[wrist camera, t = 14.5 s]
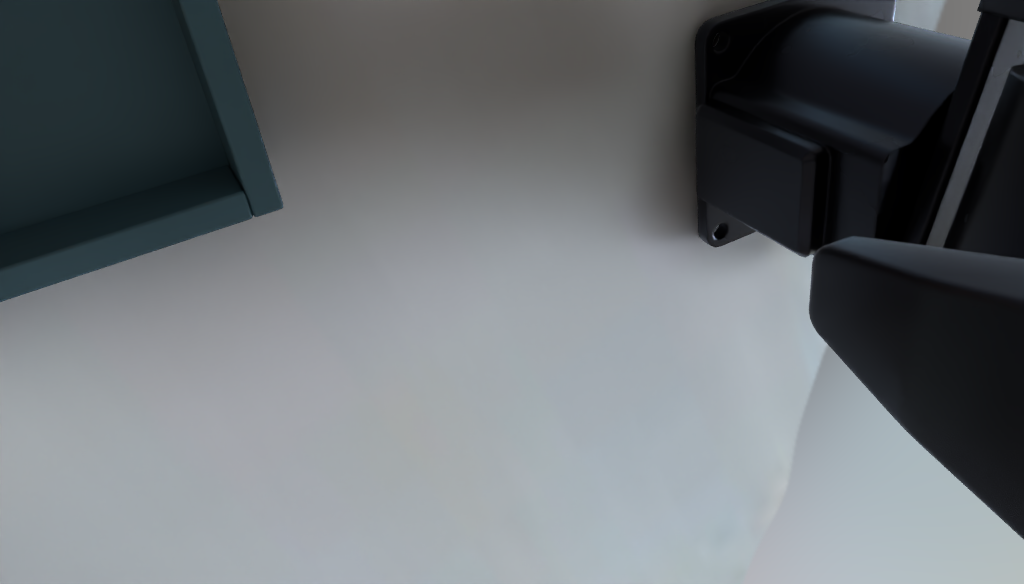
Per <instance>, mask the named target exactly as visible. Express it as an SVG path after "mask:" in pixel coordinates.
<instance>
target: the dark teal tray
mask: <svg viewBox="0 0 1024 584" xmlns="http://www.w3.org/2000/svg"><path fill="white" fill-rule="evenodd" d="M282 208H283V201H282V198H281V195H280V192H279V189H278V186H277V183H276V180H275V177H274V174H273V171H272V168H271V165H270V162H269V158H268V155H267V152H266V149H265V146H264V143H263V140H262V137H261V134H260V131H259V128H258V125H257V122H256V118H255V115H254V112H253V109H252V106H251V103H250V100H249V97H248V94H247V91H246V88H245V85H244V82H243V79H242V75H241V72H240V69H239V66H238V63H237V60H236V57H235V54H234V51H233V48H232V45H231V42H230V39H229V36H228V32H227V29H226V26H225V23H224V20H223V17H222V14H221V11H220V8H219V5H218V2H217V0H0V302H2V301H5V300H8V299H11V298H14V297H17V296H20V295H23V294H26V293H29V292H32V291H35V290H38V289H41V288H44V287H47V286H50V285H53V284H56V283H59V282H62V281H65V280H68V279H71V278H74V277H77V276H80V275H83V274H86V273H89V272H92V271H95V270H98V269H101V268H104V267H107V266H110V265H113V264H116V263H119V262H122V261H125V260H128V259H131V258H134V257H137V256H140V255H143V254H146V253H149V252H152V251H155V250H158V249H161V248H164V247H167V246H170V245H173V244H176V243H179V242H182V241H185V240H188V239H191V238H194V237H198V236H201V235H204V234H207V233H210V232H213V231H216V230H219V229H222V228H225V227H228V226H231V225H234V224H237V223H240V222H243V221H246V220H249V219H251V218H252V217H253V215H254V216H255V217H258V216H261V215H264V214H267V213H270V212H273V211H276V210H279V209H282Z"/></svg>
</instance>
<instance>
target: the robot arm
mask: <svg viewBox="0 0 1024 584" xmlns="http://www.w3.org/2000/svg"><path fill="white" fill-rule="evenodd" d="M895 8H896V0H769V1H766V2H763V3H759V4H756V5H753V6H750V7H747V8H743V9H740V10H737V11H734V12H730V13H727V14H724V15H721V16H718V17H714V18H711V19H709V20H707V21H706V22H704V23H703V25H702V26H701V27H700V28H699V30H698V33H697V35H696V40H695V70H696V168H697V195H698V233H699V237H700V238H701V239H702V240H703V241H704V242H706V243H707V244H709V245H711V246H713V247H719V246H723V245H725V244H727V243H730V242H732V241H735V240H737V239H739V238H742V237H744V236H747V235H749V234H751V233H754V232H756V231H757V232H759V233H761V234H763V235H764V236H766V237H768V238H770V239H771V240H773V241H775V242H777V243H778V244H780V245H782V246H784V247H785V248H787V249H789V250H791V251H792V252H794V253H796V254H798V255H799V256H802V257H807V256H809V255H811V254H812V255H814V258H813V262H812V275H811V288H810V302H809V314H810V319H811V322H812V324H813V326H814V328H815V330H816V331H817V333H818V334H819V335H820V336H821V337H822V338H823V339H824V341H825V342H826V343H827V344H828V345H829V346H830V347H831V348H832V349H833V350H834V352H835V353H836V354H837V355H838V356H839V357H840V358H841V359H842V361H843V362H844V363H845V364H846V365H847V366H848V367H849V368H850V369H851V370H852V371H853V373H854V374H855V375H856V376H857V377H858V378H859V379H860V381H861V382H862V383H863V384H864V385H865V386H866V387H867V388H868V389H869V391H870V392H871V393H872V394H873V395H874V396H875V397H876V398H877V400H878V401H879V402H880V403H881V404H882V405H883V406H884V407H885V408H886V409H887V411H888V412H889V413H890V414H891V415H892V416H893V417H894V418H895V419H896V420H897V421H898V422H899V423H900V425H901V426H902V427H903V428H904V429H905V430H906V431H907V432H908V433H909V434H910V435H911V436H912V437H913V438H914V439H915V440H916V441H918V443H919V444H920V445H922V446H923V447H924V448H925V449H926V450H927V451H928V452H929V453H930V454H931V455H932V456H934V457H935V458H936V459H937V460H938V461H939V462H940V463H941V464H942V465H943V466H944V467H946V468H947V469H948V470H949V471H950V472H951V473H952V474H953V475H954V476H955V477H956V478H957V479H959V480H960V481H961V482H962V483H963V484H964V485H965V486H966V487H968V489H969V490H970V491H972V492H973V493H974V494H975V495H976V496H977V497H978V498H979V499H981V501H983V502H984V503H985V504H986V505H987V506H988V507H989V508H990V509H991V510H992V511H993V512H995V513H996V514H997V515H998V516H999V517H1000V518H1001V519H1002V520H1003V521H1004V522H1005V523H1006V524H1008V525H1009V526H1010V527H1011V528H1012V529H1013V530H1014V531H1015V532H1016V533H1017V534H1018V535H1020V536H1021V537H1022V538H1023V539H1024V0H981V1H980V4H979V7H978V10H977V11H979V12H981V15H980V18H979V21H978V23H977V26H976V29H975V32H974V35H973V37H972V40H968V39H964V38H960V37H956V36H952V35H947V34H943V33H939V32H935V31H931V30H926V29H922V28H918V27H914V26H909V25H905V24H901V23H897V22H894V17H895ZM718 33H719V40H718V42H717V44H716V45H715V46H714V47H713V41H714V38H715V36H716V35H717V34H718ZM718 225H719V227H718V229H717V230H716V231H715V229H716V227H717V226H718ZM714 231H715V232H714Z"/></svg>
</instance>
